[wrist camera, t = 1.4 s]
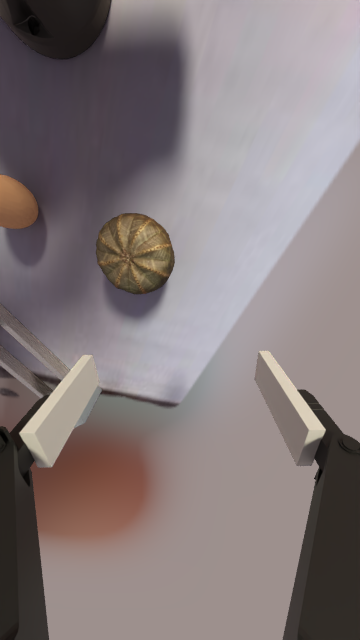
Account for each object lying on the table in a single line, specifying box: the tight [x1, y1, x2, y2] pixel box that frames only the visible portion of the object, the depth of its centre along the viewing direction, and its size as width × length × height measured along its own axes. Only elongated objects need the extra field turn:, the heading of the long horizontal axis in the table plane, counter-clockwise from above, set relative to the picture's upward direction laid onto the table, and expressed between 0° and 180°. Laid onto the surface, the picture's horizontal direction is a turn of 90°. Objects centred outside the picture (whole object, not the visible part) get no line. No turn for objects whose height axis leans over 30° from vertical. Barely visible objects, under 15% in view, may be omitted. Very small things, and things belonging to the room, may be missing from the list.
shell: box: [96, 213, 175, 294], centre depth 29 cm, size 11×11×12 cm
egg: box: [0, 174, 38, 229], centre depth 28 cm, size 7×7×9 cm
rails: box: [0, 304, 70, 398], centre depth 42 cm, size 23×9×2 cm, turn 32°
